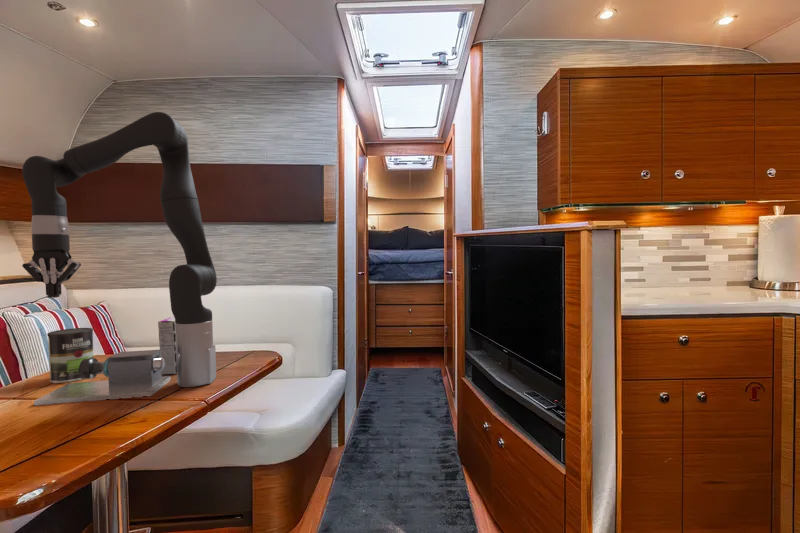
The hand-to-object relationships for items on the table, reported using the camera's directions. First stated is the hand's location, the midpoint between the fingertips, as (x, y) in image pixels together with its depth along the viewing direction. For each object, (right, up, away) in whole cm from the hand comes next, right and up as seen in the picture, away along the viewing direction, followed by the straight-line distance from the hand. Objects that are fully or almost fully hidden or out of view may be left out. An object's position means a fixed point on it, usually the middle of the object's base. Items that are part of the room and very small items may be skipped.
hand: (53, 297), depth 105 cm
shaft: (+21, -21, -2) cm, 29 cm away
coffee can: (-4, -25, +10) cm, 27 cm away
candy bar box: (+24, -24, +17) cm, 38 cm away
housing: (+17, -25, -3) cm, 30 cm away
